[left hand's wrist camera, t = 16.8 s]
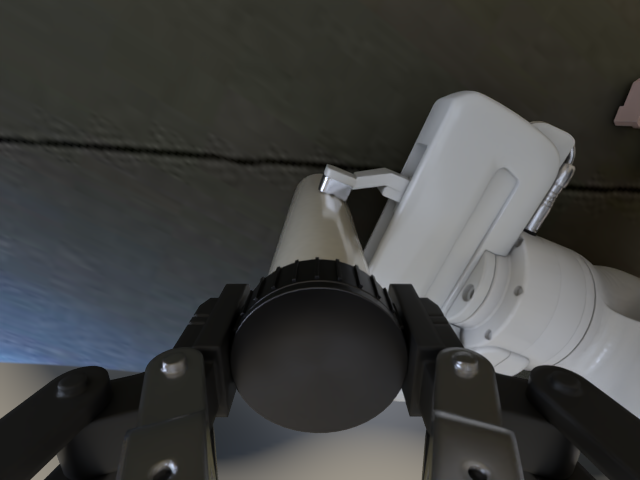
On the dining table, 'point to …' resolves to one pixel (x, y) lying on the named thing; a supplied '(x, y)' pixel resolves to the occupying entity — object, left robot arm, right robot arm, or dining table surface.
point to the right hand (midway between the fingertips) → (305, 217)
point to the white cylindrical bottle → (318, 229)
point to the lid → (319, 347)
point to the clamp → (630, 108)
